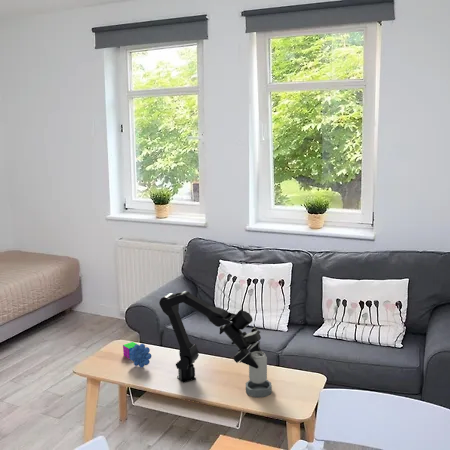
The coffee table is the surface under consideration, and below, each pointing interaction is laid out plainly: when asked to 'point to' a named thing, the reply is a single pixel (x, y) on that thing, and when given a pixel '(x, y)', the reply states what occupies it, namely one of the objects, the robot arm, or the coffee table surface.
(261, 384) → the ring holder
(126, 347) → the puzzle toy
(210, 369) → the coffee table surface
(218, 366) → the coffee table surface
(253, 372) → the can
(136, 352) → the grapes
